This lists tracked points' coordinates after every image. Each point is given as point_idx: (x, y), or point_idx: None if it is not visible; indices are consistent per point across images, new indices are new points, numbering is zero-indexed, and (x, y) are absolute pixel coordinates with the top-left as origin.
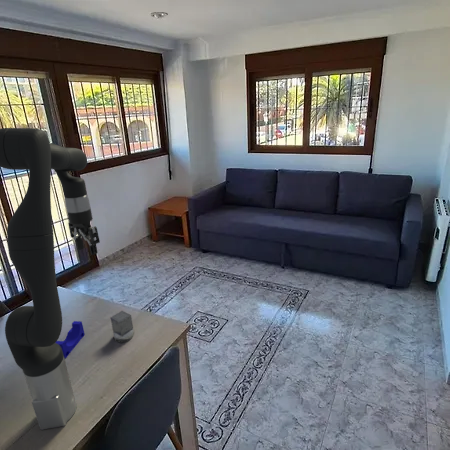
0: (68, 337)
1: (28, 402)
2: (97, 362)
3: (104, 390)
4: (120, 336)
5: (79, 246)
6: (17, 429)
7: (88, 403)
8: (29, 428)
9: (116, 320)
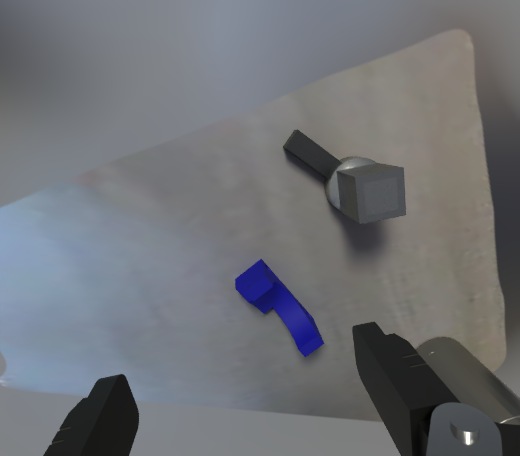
0: (260, 301)
1: None
2: (382, 272)
3: (462, 291)
4: None
5: (123, 437)
6: None
7: (462, 321)
8: None
9: (389, 217)
